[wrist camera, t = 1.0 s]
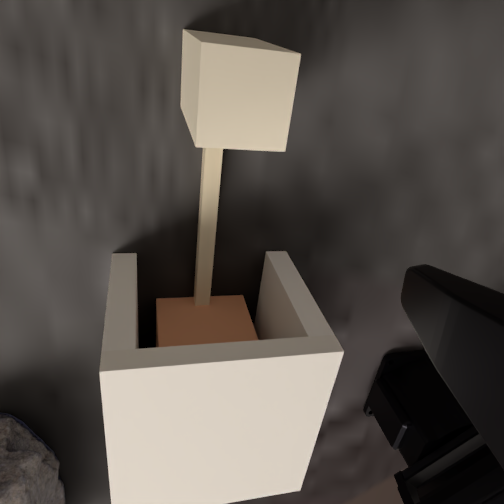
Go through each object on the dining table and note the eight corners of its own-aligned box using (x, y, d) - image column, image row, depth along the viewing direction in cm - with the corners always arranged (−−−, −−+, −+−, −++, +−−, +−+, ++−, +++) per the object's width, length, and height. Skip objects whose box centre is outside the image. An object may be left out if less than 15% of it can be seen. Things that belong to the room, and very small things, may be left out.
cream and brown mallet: (277, 40, 17) (331, 57, 13) (234, 356, 27) (255, 438, 22) (157, 25, 16) (165, 37, 11) (155, 362, 25) (159, 451, 20)
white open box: (286, 251, 23) (344, 351, 17) (262, 375, 28) (300, 490, 22) (112, 253, 21) (99, 371, 14) (120, 388, 26) (113, 523, 19)
